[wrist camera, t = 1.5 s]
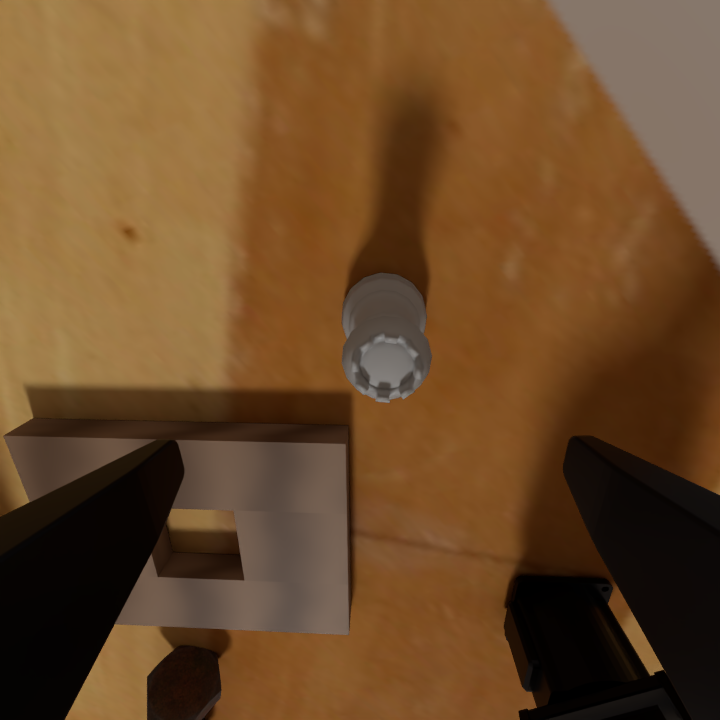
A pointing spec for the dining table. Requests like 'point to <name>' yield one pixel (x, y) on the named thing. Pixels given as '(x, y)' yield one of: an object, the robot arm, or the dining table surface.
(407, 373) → the rook chess piece
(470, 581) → the dining table surface
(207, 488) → the socket board
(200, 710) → the bolt
